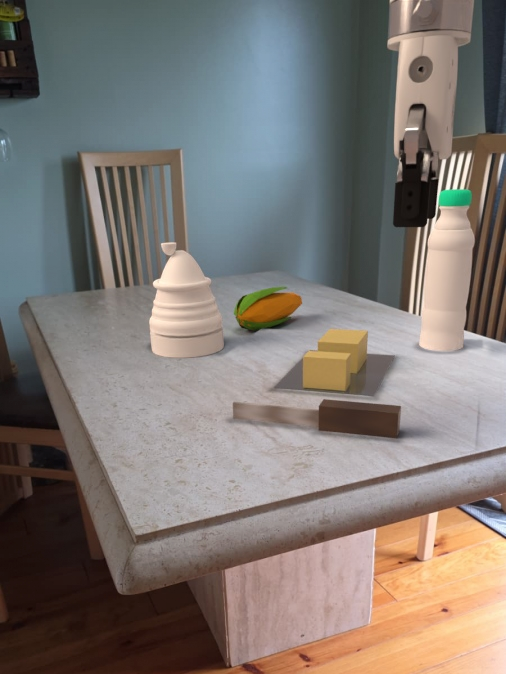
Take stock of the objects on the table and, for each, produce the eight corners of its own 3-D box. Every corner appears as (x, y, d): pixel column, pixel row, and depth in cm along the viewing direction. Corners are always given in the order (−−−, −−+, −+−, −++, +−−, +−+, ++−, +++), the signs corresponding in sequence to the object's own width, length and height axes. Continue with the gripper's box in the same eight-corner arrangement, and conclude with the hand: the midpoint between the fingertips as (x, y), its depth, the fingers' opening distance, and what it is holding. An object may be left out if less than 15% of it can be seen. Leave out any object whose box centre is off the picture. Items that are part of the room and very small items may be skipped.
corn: (223, 292, 117) (285, 276, 131) (223, 331, 121) (284, 312, 135) (253, 298, 113) (314, 282, 127) (252, 339, 117) (312, 318, 131)
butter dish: (394, 361, 100) (395, 355, 99) (373, 403, 83) (374, 396, 82) (309, 355, 104) (310, 350, 104) (273, 394, 87) (273, 387, 87)
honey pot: (161, 361, 104) (150, 249, 96) (144, 344, 115) (133, 241, 107) (234, 351, 108) (229, 243, 100) (211, 335, 119) (205, 236, 111)
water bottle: (439, 343, 109) (454, 188, 99) (471, 351, 103) (490, 188, 93) (409, 349, 106) (421, 190, 95) (441, 358, 100) (457, 191, 90)
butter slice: (350, 384, 87) (351, 353, 85) (345, 391, 84) (346, 359, 82) (308, 381, 89) (308, 350, 87) (302, 387, 86) (302, 356, 84)
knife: (399, 438, 72) (401, 405, 70) (396, 446, 70) (398, 413, 68) (237, 421, 78) (236, 391, 77) (230, 428, 76) (229, 397, 74)
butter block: (366, 358, 98) (368, 330, 96) (357, 373, 91) (358, 343, 89) (329, 356, 100) (330, 328, 98) (317, 370, 93) (317, 341, 91)
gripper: (468, 2, 49) (447, 230, 56) (474, 38, 64) (457, 215, 71) (373, 12, 51) (364, 230, 59) (400, 45, 66) (390, 216, 73)
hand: (415, 222), depth 65 cm, fingers open, 9 cm apart
